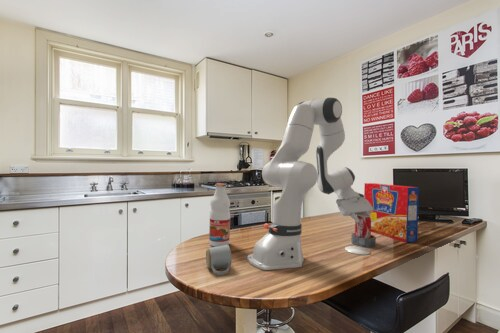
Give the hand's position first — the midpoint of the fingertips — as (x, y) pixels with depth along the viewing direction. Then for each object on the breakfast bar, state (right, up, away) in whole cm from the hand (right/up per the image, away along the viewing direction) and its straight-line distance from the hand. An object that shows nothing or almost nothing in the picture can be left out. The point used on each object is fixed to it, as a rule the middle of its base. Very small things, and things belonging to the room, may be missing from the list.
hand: (364, 221), depth 122 cm
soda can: (-1, -9, 0) cm, 9 cm away
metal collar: (0, -11, +1) cm, 11 cm away
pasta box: (+22, -12, +19) cm, 31 cm away
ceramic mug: (-66, -10, -33) cm, 75 cm away
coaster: (-8, -11, -10) cm, 17 cm away
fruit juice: (-70, -9, -6) cm, 71 cm away
